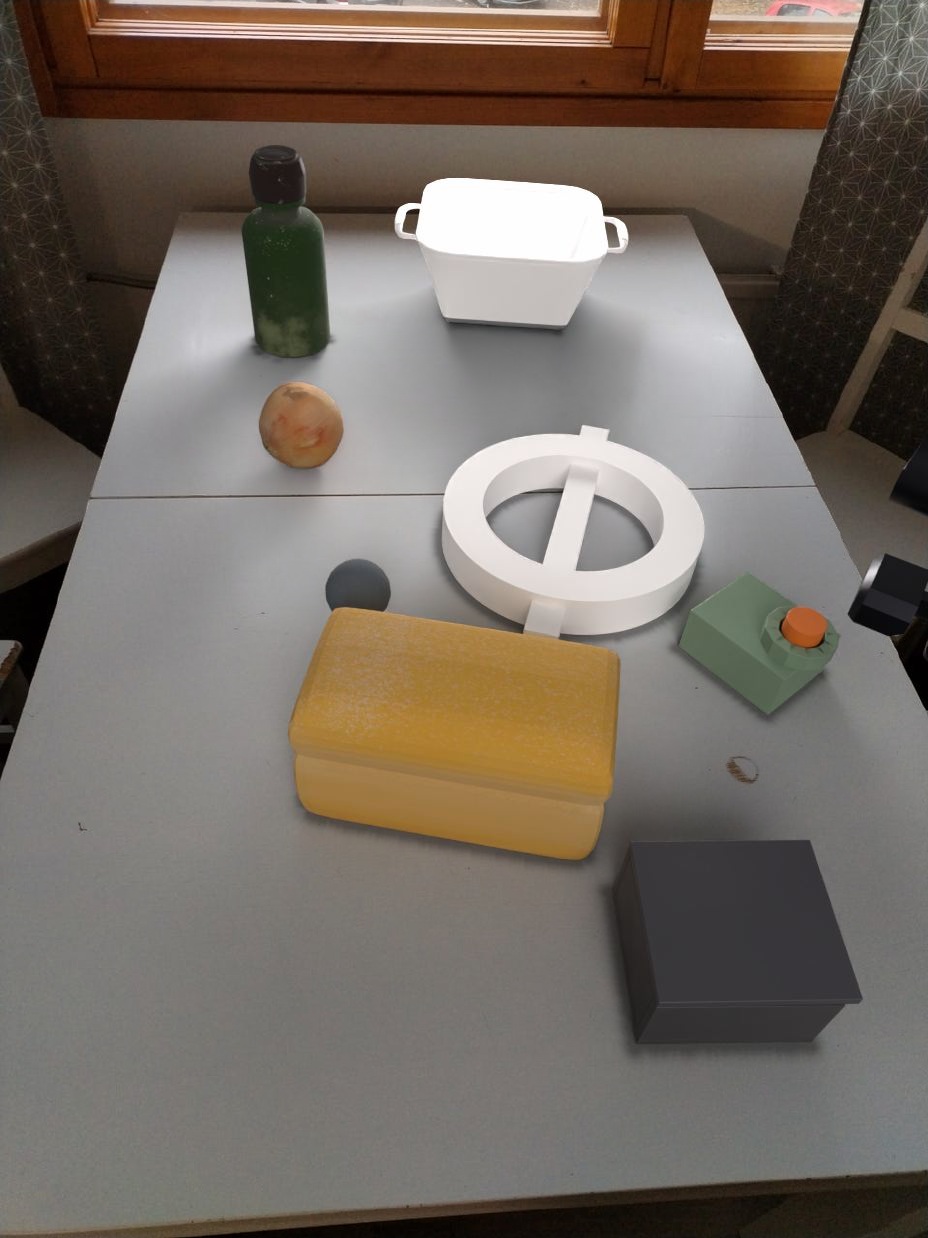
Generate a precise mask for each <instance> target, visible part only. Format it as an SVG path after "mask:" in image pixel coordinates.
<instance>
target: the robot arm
mask: <svg viewBox="0 0 928 1238" xmlns="http://www.w3.org/2000/svg"><path fill="white" fill-rule="evenodd" d="M888 502H891V503H893V504H896V505H898V506H901V507H903V508H906V509H908V510H911V511H912V512H914V513H916V514H919V515H922V516H925V517H926V518H928V432H927V433H926V434H925V436H924V438H923V439H922V441H921V443H920V444H919V446H918V447H917V448H916V450H915V451H914V452H913V454H912V456H911V457H910V458H909V459H908V461H907V463H906V464H905V466H904V467H903V469H902V470H901V472H900V474H899V475H898V478H897V479H896V481H895V483H894V485H893V487H892V489H891V492H890V494H889V497H888ZM927 586H928V568H925V567H923V566H920V565H918V564H915V563H912V562H910V561H907V560H906V559H905V560H904V559H902V558H899V557H896V556H894V555H891V554H889V553H886V552H884V553H882V554H879V555H877V556H875V557H873V558H872V560H871V561H870V563H869V565H868V568H867V569H866V571H865V573H864V575H863V578H862V580H861V582H860V584H859V587H858V588H857V592H856V593H855V594H854V595H855V596H854V597H853V600H852V602H851V605H850V607H849V609H848V611H847V614H846V615H847V616H848V617H849V619H850V620H851V621H852V622H853V623H855V624H858V625H860V626H862V627H865V628H867V629H869V630H871V631H874V632H876V633H879V634H880V635H884V636H886V637H888V638H889V637H894V636H899V635H904V634H905V633H906V632H907V630H908V628H909V627H910V625H911V623H912V622H913V619H914V618H918V619H920V620H923V621H925V622H928V588H927ZM922 656H923V658H924V660H926V661H927V662H928V640H927V641H926V644H925V646H924V649H923V652H922Z"/></svg>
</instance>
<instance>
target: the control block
mask: <svg viewBox="0 0 928 1238" xmlns="http://www.w3.org/2000/svg"><path fill="white" fill-rule="evenodd" d="M796 607H800V606H799V605H797V604H796V603H795V602H793V601H791V600H790V599H789V598H787V597H786V596H784V595H782V594H781V593H779V591H776V590H775V589H773V587H770V586H769V585H768V584H766V583H765V582H763V581H762V580H760V579H759V578H757V577H756V576H754V575H753V574H752V573H750V572H749V571H747V572H745V573H744V574H742V575H741V576H739V577H738V578H737V579H735V580H733V581H731V583H729V584H727V585H726V586H724V587H723V588H721V589H720V590H718V591H717V592H716V593H714V594H713V595H711V596H710V597H708V598H707V599H705V600H704V601H703V602H701V603H699V604H698V605H696V606H695V607H694V608H692V609H691V610H690V611H689V614H688V617H687V620H686V623H685V626H684V628H683V632H682V635H681V638H680V641H679V644H678V647H679V648H680V649H681V650H682V651H684V652H685V653H686V654H688V655H689V656H690V657H691V658H693V659H694V660H696V661H697V662H698V663H699V664H701V665H702V666H703V667H705V668H706V669H707V670H708V671H710V672H711V673H712V674H714V675H715V676H716V677H718V678H719V679H720V680H721V681H723V682H724V683H725V684H727V685H728V686H729V687H731V688H732V689H733V690H735V691H736V692H737V693H738V694H740V695H741V696H742V697H743V698H744V699H746V700H748V701H749V702H750V703H751V704H753V705H754V706H756V707H757V708H758V709H759V710H760V711H762V712H763V713H765V714H766V715H767V716H768V715H769V716H770V714H771V713H772V712H774V711H775V710H776V709H778V708H779V707H780V706H781V705H782V704H784V703H785V702H786V701H787V700H788V699H789V698H791V697H792V696H794V695H795V694H796V693H797V692H798V691H800V690H801V689H802V688H803V687H805V686H806V685H807V684H808V683H809V682H810V681H812V680H813V679H815V677H817V676H818V675H820V673H822V672H823V671H824V668H825V667H826V665H827V664H829V663H830V662H831V661H832V659H833V658H834V656H835V654H836V652H837V650H838V648H839V647H838V646H839V640H840V638H841V634H840V633H839V632H838V631H837V630H836V628H835V627H834V625H833V623H832V622H831V620H830V619H828V618H827V617H825V616H823V617H824V618H825V620H826V622H827V629H826V631H825V633H824V635H823V637H822V639H821V641H820V643H819V644H818V645H816V646H815V647H811V648H803V647H799V646H796V645H794V644H792V643H791V642H789V641H788V640H786V638H785V637H784V636H783V634H782V630H781V628H782V625H783V622H784V620H785V618H786V616H787V614H788V612H789V611H790V610H791V609H793V608H796Z"/></svg>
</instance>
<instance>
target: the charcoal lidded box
mask: <svg viewBox="0 0 928 1238" xmlns="http://www.w3.org/2000/svg"><path fill="white" fill-rule="evenodd" d="M612 897H613V903H614V909H615V910H614V911H615V915H616V921H617V922H616V923H617V930H618V937H619V941H620V948H621V954H622V961H623V967H624V975H625V981H626V987H627V992H628V993H627V994H628V1000H629V1005H630V1006H629V1007H630V1012H631V1013H630V1014H631V1019H632V1026H633V1033H634V1038H635V1039H634V1040H635V1045H679V1044H680V1045H684V1044H685V1045H686V1044H688V1045H689V1044H744V1043H745V1044H749V1043H750V1044H751V1043H752V1044H753V1043H758V1044H759V1043H760V1044H761V1043H763V1044H764V1043H811V1042H813V1040H814V1039H816V1037H817V1036H818V1035H819V1034H820V1033H821V1032H822V1031H823V1030H824V1029H825V1028H826V1027H827V1026H828V1025H829V1024H830V1022H832V1020H833V1019H834V1018H836V1017H837V1016H838V1014H839V1013H840V1012H841V1011H842V1010H843V1009H844V1008H845V1007H846V1004H823V1005H764V1006H705V1007H657V1006H656V1001H655V995H654V989H653V983H652V978H651V972H650V966H649V960H648V955H647V949H646V943H645V938H644V932H643V926H642V920H641V915H640V909H639V903H638V898H637V892H636V886H635V880H634V875H633V869H632V863H631V858H630V852H629V846H628V847H627V849H626V852H625V855H624V857H623V860H622V863H621V866H620V869H619V872H618V874H617V876H616V879H615V882H614V885H613V887H612Z"/></svg>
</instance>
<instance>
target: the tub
mask: <svg viewBox="0 0 928 1238" xmlns="http://www.w3.org/2000/svg"><path fill="white" fill-rule="evenodd" d="M414 209H415V210H417V209H419V214H418V219H417V225H416V229H415V233H408V232H404V231H403V227H404V226H403V225H404V222H405V219H406V215H407V214H406V213H407V212H408V211H410V210H414ZM605 223H610V224H613V225H614V226H615V228H616V233H617V238H618V240H619V247H609V242H608V236H607V230H606V224H605ZM394 232H395V233H396V235H397V237H399V238H401V239H402V240H403V239H405V240H415V241H416V242H417V244H418V245H419V248H420V250H421V253H422V256H423V260H424V263H425V265H426V269H427V272H428V275H429V278H430V282H431V285H432V287H433V291H434V293H435V296H436V300H437V303H438V306H439V309H440V312H441V315H442V317H443V318H444V320H446V321H447V322H449V323H454V324H456V323H457V324H469V325H485V326H496V327H508V328H509V327H510V328H527V329H529V328H530V329H544V330H557V331H559V330H562V329H564V328H566V327H567V325H568V324H569V323H570V321H571V319H572V317H573V315H574V313H575V312H576V309H578V306H579V304H580V303H581V300H582V298H583V296H584V295H585V293H586V291H587V289H588V287H589V286H590V284H591V282H592V280H593V278H594V276H595V275H596V272H597V270H598V269H599V267H600V265H601V263H602V262H603V260H604V258H605V257H606V256H607V254H623V253H624V252H625V251H626V249H627V247H628V245H629V232H628V228H627V226H626V224H625V222H623V221H621V219H618V218H616V217H612V216H604V211H603V206H602V201H601V200H600V198H599V197H598V196H597V195H596V194H594V193H592V192H591V191H589V190H586V189H583V188H581V187H577V186H569V185H562V184H550V183H549V184H548V183H535V182H524V181H523V182H522V181H521V182H520V181H507V180H491V179H480V178H479V179H478V178H477V179H476V178H459V177H456V178H451V177H450V178H444V179H437V180H435V181H432V182H431V183H429V184H427V185H426V186H425V188H424V190H423V192H422V197H421V203H413V202H412V203H406V204H404V205H402V206H400V207H399V208H398V209H397V212H396V214H395V217H394Z"/></svg>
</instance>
